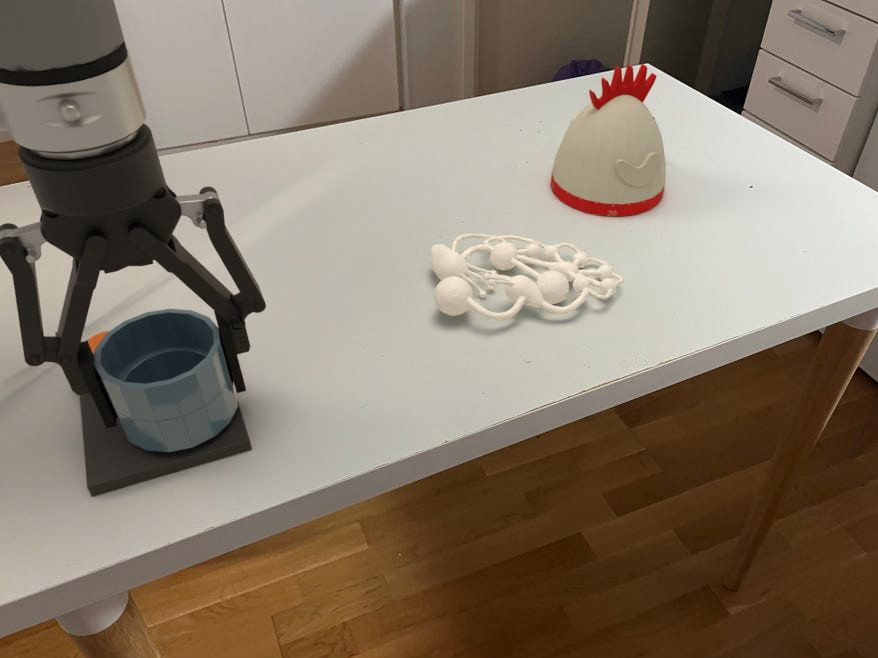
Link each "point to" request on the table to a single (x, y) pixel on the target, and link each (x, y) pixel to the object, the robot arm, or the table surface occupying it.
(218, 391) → the bowl
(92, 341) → the tare button
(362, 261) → the table surface
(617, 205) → the kitchen timer
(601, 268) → the tangled rod sculpture
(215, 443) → the scale
